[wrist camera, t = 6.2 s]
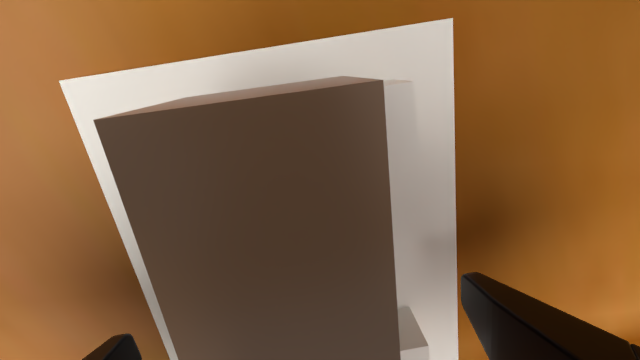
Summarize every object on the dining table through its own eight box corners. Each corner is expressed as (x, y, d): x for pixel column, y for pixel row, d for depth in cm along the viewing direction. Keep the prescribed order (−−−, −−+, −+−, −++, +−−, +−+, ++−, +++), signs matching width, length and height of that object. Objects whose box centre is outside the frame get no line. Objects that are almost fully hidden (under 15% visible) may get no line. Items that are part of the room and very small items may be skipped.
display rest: (439, 22, 11) (490, 5, 8) (448, 344, 15) (483, 405, 13) (79, 79, 11) (1, 83, 8) (197, 389, 15) (174, 463, 12)
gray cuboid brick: (186, 97, 8) (92, 120, 4) (343, 75, 8) (383, 79, 5) (270, 426, 12) (259, 588, 8) (376, 408, 12) (413, 560, 8)
